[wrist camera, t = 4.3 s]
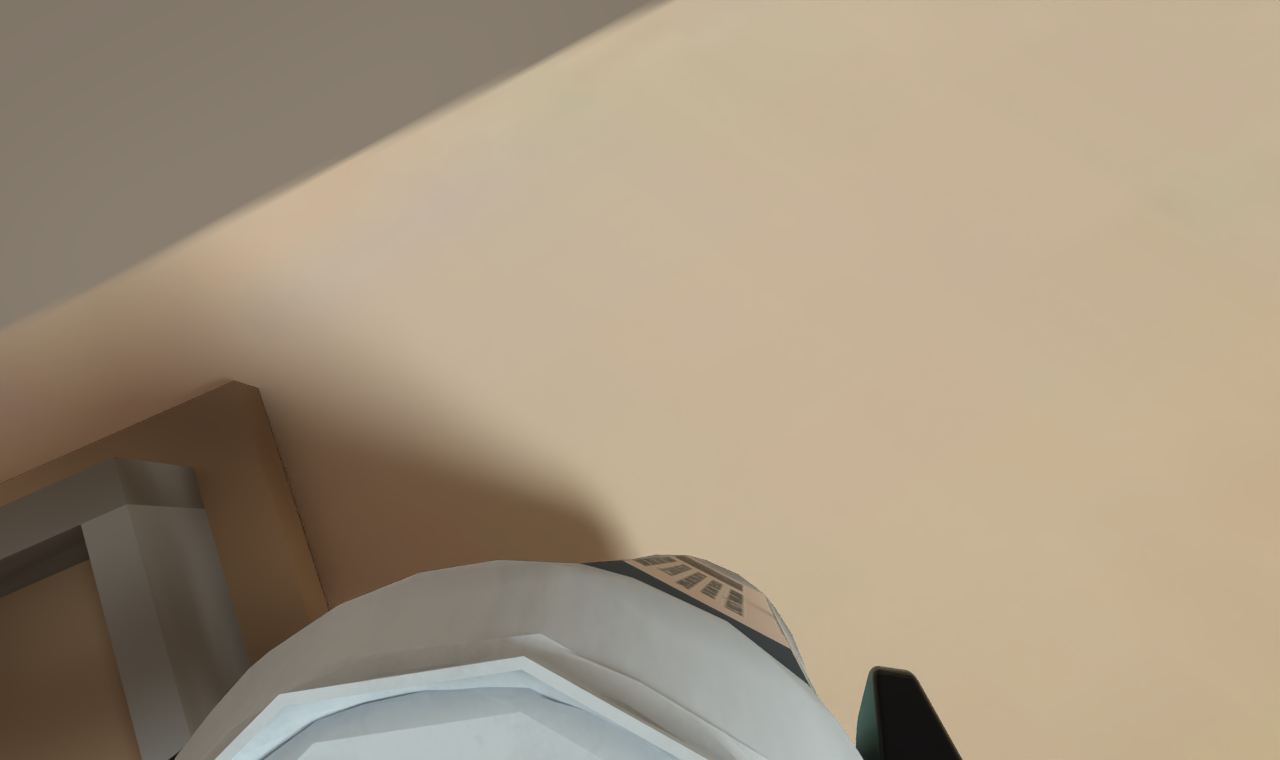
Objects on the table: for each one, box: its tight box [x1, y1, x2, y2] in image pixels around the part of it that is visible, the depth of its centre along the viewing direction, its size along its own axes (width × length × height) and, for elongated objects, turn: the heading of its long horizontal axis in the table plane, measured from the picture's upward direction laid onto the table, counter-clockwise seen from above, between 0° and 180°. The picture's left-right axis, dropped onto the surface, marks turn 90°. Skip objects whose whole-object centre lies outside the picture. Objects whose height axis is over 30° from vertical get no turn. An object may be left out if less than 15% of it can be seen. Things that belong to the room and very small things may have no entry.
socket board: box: [0, 381, 329, 760], centre depth 18 cm, size 12×12×4 cm
